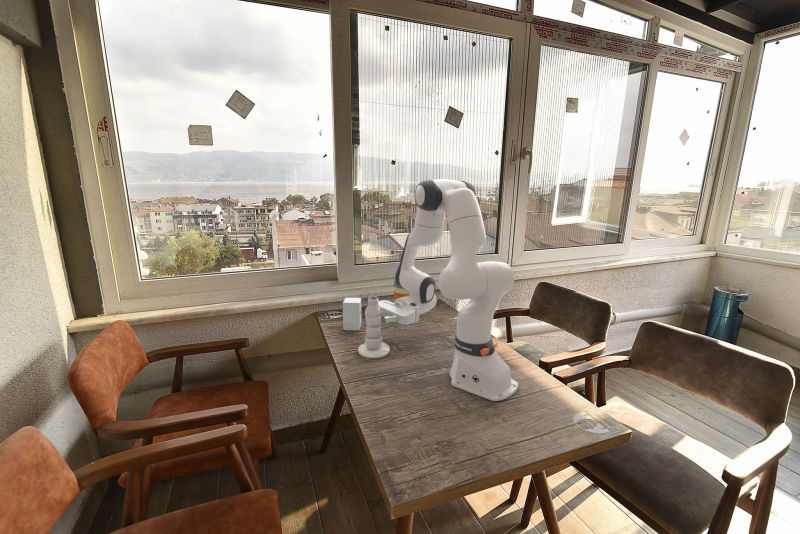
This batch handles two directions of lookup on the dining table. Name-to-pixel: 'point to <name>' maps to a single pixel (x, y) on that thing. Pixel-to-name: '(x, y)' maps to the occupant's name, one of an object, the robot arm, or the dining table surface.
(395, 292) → the reusable coffee cup
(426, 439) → the dining table surface
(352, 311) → the supplement box
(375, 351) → the coaster
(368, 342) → the plastic bottle
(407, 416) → the dining table surface
